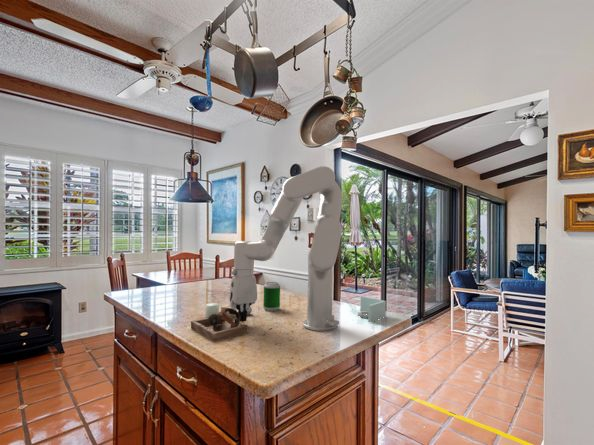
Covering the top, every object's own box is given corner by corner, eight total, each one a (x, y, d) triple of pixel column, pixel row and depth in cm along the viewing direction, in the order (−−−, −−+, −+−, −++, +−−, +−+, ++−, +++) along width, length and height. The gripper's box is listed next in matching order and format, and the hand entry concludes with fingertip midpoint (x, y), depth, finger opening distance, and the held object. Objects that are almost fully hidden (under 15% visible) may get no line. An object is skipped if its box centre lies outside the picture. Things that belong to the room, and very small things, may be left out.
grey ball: (253, 314, 131) (253, 306, 131) (246, 316, 128) (246, 307, 128) (248, 312, 133) (248, 304, 133) (241, 314, 131) (241, 305, 131)
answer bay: (247, 332, 109) (247, 325, 109) (213, 341, 100) (213, 333, 100) (223, 320, 121) (223, 314, 121) (190, 327, 112) (191, 320, 112)
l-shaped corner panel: (361, 312, 139) (361, 296, 139) (385, 318, 130) (385, 301, 131) (345, 317, 130) (346, 300, 131) (370, 324, 122) (370, 305, 122)
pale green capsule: (220, 320, 123) (220, 305, 123) (209, 322, 119) (209, 307, 119) (214, 317, 126) (214, 302, 126) (203, 319, 123) (203, 304, 123)
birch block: (236, 316, 127) (236, 306, 128) (228, 319, 124) (228, 308, 124) (228, 315, 130) (228, 304, 130) (220, 317, 126) (220, 306, 126)
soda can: (279, 311, 136) (279, 284, 136) (262, 311, 136) (262, 284, 136) (280, 307, 143) (280, 281, 143) (264, 307, 143) (264, 281, 143)
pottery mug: (226, 323, 120) (236, 306, 118) (236, 340, 113) (247, 322, 112) (199, 321, 111) (210, 303, 110) (208, 340, 105) (219, 321, 103)
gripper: (231, 276, 110) (230, 327, 110) (265, 272, 120) (264, 319, 120) (221, 273, 116) (220, 322, 115) (254, 270, 126) (253, 315, 125)
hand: (242, 320), depth 118 cm, fingers closed
